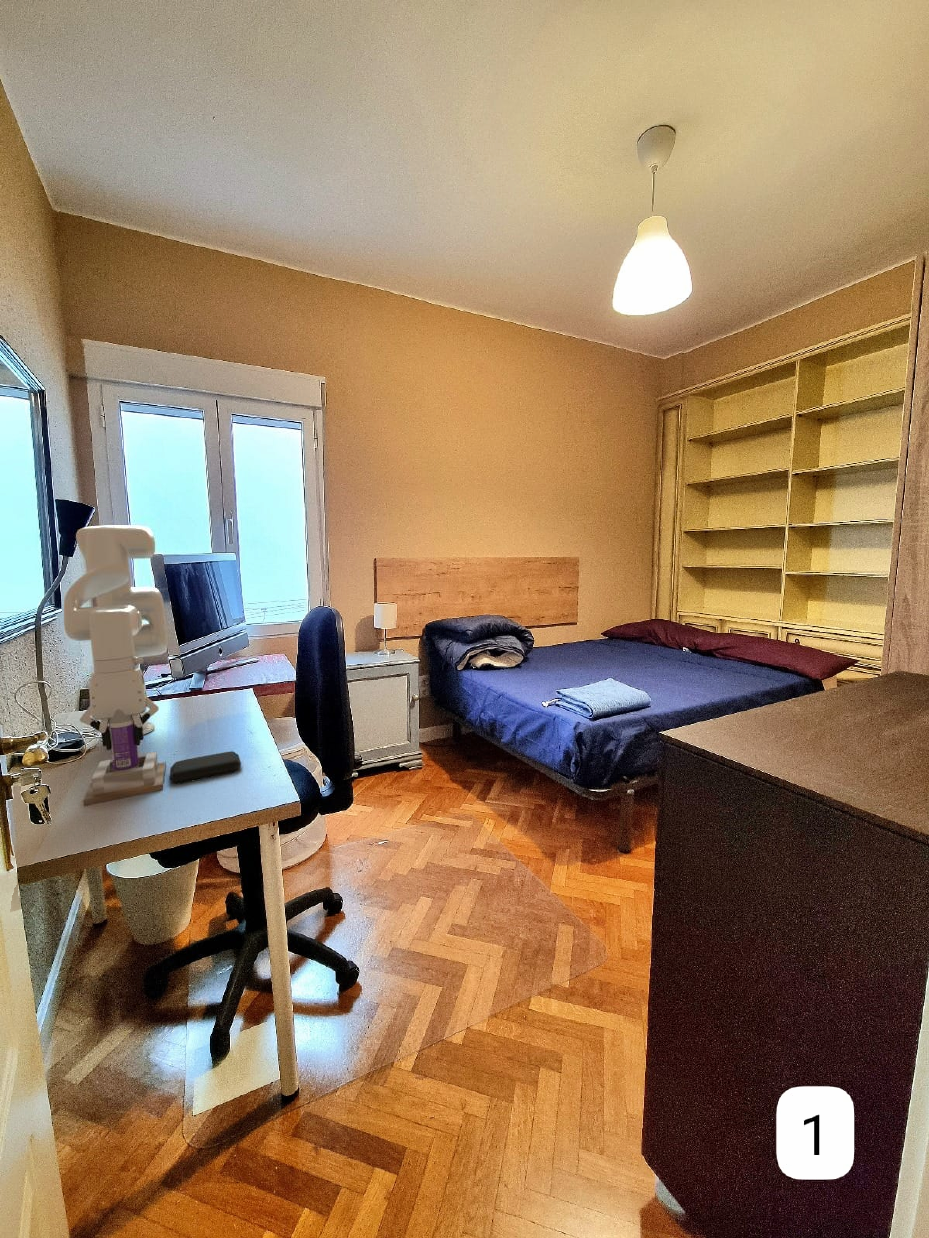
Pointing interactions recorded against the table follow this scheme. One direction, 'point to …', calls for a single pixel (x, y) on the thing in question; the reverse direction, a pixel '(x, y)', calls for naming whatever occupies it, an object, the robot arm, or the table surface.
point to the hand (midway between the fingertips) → (124, 744)
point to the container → (123, 741)
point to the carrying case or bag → (204, 767)
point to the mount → (126, 780)
